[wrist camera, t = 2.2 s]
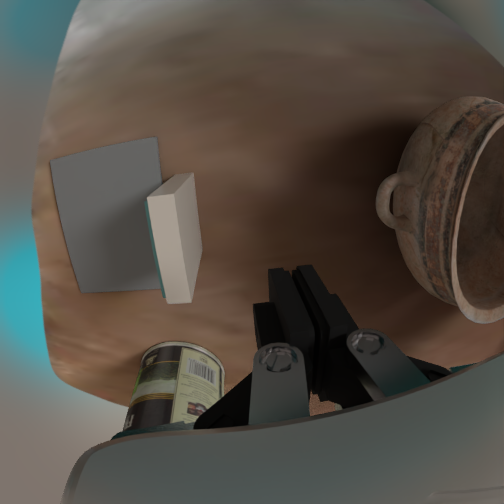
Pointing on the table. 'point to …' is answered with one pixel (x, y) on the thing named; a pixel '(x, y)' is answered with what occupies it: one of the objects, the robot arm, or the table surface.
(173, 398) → the coffee can
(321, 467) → the robot arm
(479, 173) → the cooking pot
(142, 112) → the table surface
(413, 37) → the table surface
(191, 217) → the tile
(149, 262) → the mat
